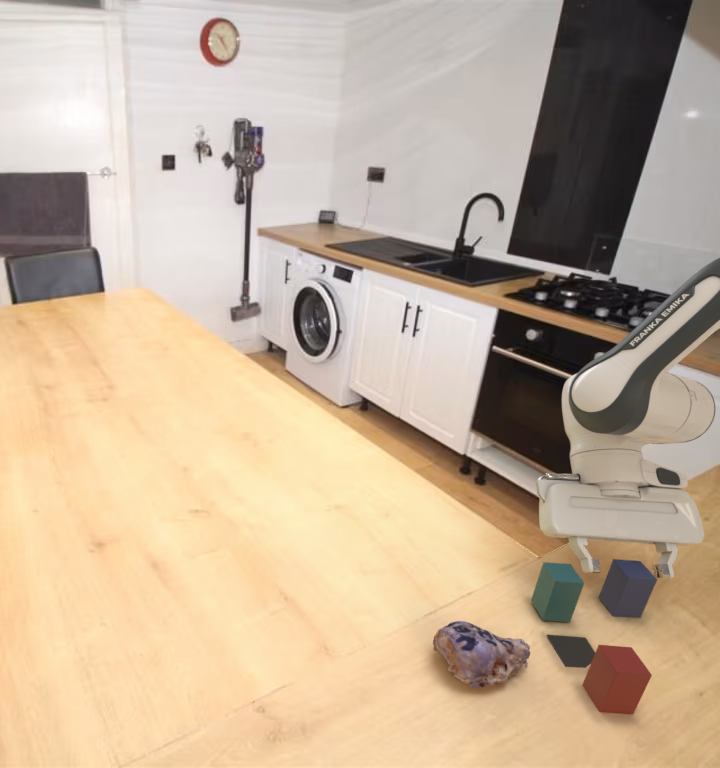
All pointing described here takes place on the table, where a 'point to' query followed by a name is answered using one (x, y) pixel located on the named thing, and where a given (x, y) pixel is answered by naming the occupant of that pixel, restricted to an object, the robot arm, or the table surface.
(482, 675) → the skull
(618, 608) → the blue block
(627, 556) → the table surface
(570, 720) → the table surface
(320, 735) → the table surface
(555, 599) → the block line
